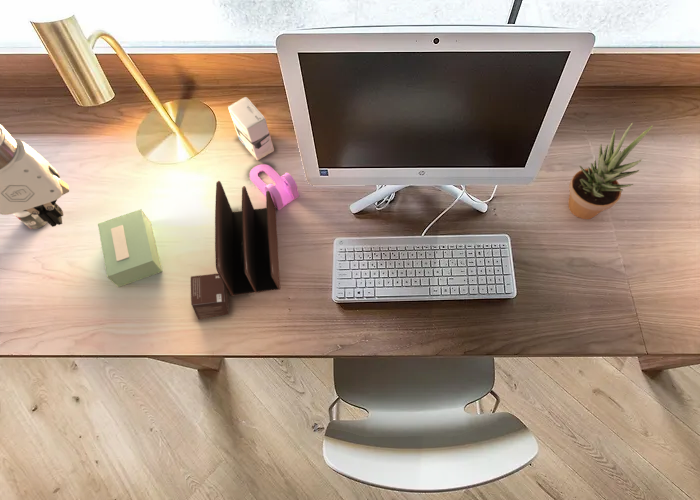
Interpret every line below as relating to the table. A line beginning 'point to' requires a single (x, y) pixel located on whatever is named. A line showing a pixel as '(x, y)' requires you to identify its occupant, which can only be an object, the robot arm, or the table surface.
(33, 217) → the pill bottle
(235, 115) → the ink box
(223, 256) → the letter holder
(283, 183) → the bracket
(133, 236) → the tissue box
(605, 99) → the table surface
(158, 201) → the table surface
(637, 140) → the potted plant
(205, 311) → the box
